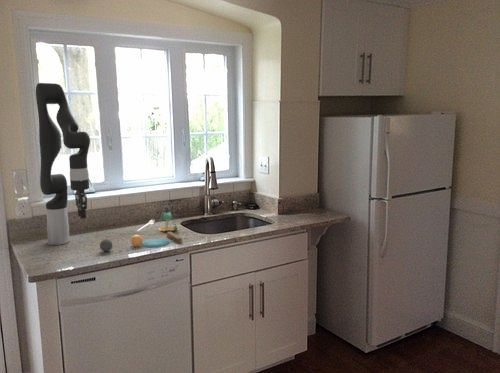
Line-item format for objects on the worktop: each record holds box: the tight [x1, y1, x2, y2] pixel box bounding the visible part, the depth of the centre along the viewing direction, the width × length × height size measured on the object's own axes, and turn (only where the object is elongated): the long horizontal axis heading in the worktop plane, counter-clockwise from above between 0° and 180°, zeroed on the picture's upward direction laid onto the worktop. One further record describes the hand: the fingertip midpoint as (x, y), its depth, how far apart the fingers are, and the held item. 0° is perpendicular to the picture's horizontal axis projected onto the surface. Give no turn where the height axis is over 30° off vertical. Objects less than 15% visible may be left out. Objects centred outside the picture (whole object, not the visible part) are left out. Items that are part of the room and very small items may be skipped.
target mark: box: [140, 238, 171, 249], centre depth 212 cm, size 14×14×1 cm
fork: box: [136, 219, 155, 232], centre depth 243 cm, size 3×20×2 cm, turn 169°
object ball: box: [129, 234, 143, 248], centre depth 207 cm, size 6×6×6 cm
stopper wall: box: [166, 231, 183, 245], centre depth 217 cm, size 2×14×2 cm, turn 32°
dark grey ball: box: [99, 239, 113, 253], centre depth 200 cm, size 6×6×6 cm
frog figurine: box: [158, 205, 180, 235], centre depth 234 cm, size 10×18×15 cm, turn 30°
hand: (82, 217), depth 192 cm, fingers open, 3 cm apart
